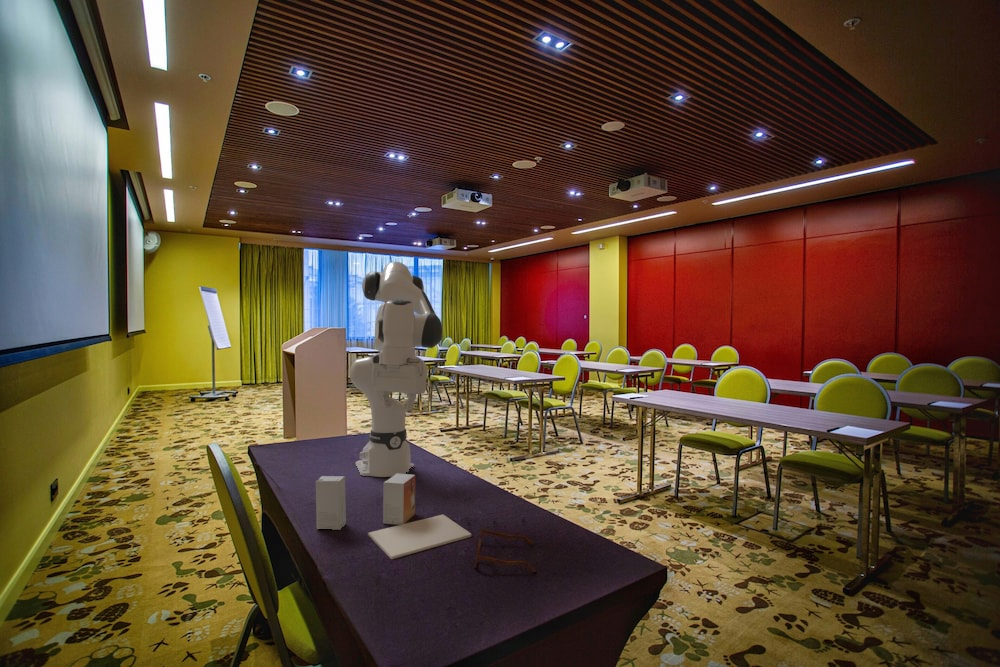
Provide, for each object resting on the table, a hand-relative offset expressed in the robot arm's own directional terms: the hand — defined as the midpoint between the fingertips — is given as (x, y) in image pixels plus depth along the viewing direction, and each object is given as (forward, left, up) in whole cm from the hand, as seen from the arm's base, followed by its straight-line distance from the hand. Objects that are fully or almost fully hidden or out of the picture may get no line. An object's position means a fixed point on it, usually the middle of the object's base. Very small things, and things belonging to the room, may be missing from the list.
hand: (397, 408), depth 130 cm
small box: (+8, -3, -27) cm, 28 cm away
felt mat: (+20, -3, -27) cm, 34 cm away
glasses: (+40, +8, -28) cm, 49 cm away
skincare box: (+3, -19, -27) cm, 33 cm away
